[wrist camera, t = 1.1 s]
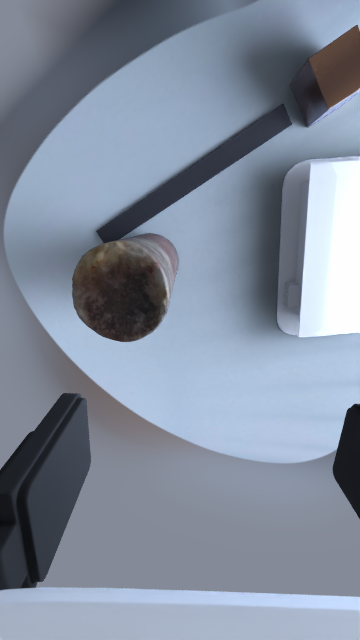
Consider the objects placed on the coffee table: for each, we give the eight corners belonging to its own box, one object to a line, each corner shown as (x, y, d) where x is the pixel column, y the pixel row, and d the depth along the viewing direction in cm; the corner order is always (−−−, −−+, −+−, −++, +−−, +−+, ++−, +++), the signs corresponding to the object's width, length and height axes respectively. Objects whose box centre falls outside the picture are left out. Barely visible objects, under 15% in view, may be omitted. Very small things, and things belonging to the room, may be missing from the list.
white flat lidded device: (276, 336, 41) (285, 346, 37) (283, 161, 34) (295, 152, 30) (382, 330, 40) (402, 340, 37) (411, 152, 33) (440, 141, 30)
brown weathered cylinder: (157, 299, 39) (132, 362, 20) (113, 268, 38) (43, 304, 19) (189, 255, 37) (195, 278, 18) (144, 221, 36) (101, 208, 17)
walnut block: (289, 85, 32) (308, 58, 27) (330, 56, 31) (357, 23, 26) (307, 128, 33) (328, 110, 28) (347, 101, 32) (376, 78, 27)
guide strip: (96, 231, 37) (95, 231, 36) (282, 104, 32) (283, 103, 32) (107, 247, 37) (106, 247, 37) (291, 125, 33) (292, 124, 32)
